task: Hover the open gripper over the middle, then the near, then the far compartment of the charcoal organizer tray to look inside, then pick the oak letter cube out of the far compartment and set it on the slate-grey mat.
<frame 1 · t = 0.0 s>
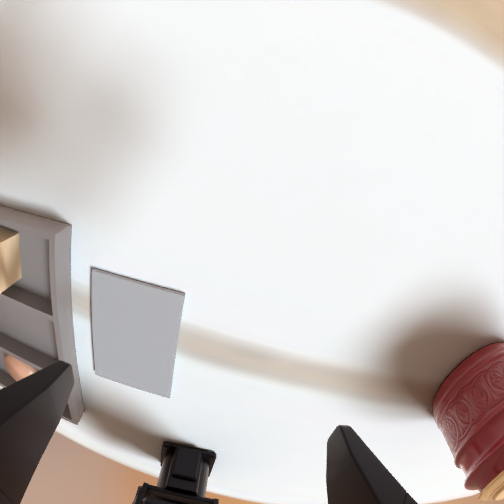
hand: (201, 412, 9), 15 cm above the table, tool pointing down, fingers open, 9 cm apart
letter cube: (4, 250, 23), resting on organizer tray
peach egg shape: (24, 367, 28), resting on organizer tray
canister: (474, 382, 28), on the table
organizer tray: (15, 313, 26), on the table
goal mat: (133, 339, 26), on the table
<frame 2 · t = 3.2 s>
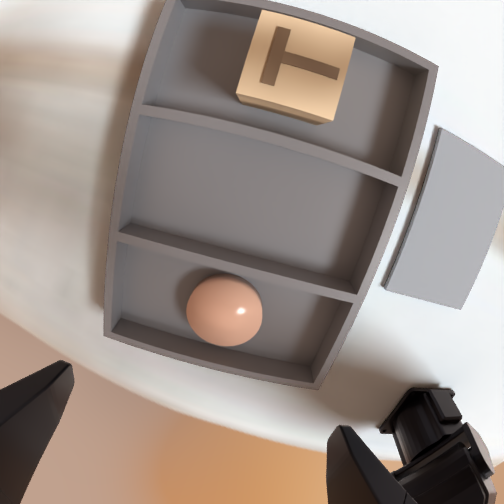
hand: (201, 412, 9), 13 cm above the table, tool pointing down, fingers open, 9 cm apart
letter cube: (289, 79, 16), resting on organizer tray
peach egg shape: (225, 306, 21), resting on organizer tray
organizer tray: (255, 198, 19), on the table
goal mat: (455, 226, 19), on the table
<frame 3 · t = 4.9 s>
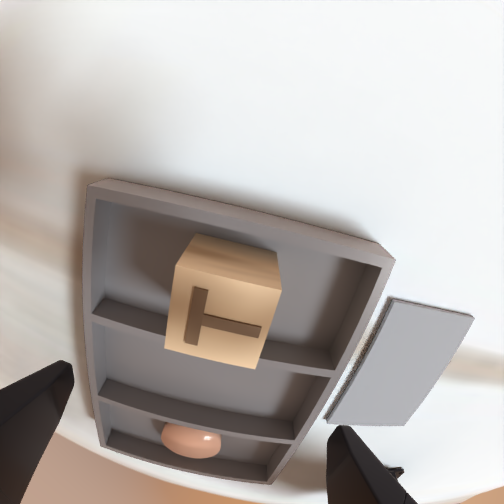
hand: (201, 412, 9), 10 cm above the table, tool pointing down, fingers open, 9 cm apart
letter cube: (227, 279, 18), resting on organizer tray
peach egg shape: (192, 433, 23), resting on organizer tray
organizer tray: (206, 369, 21), on the table
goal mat: (400, 373, 21), on the table
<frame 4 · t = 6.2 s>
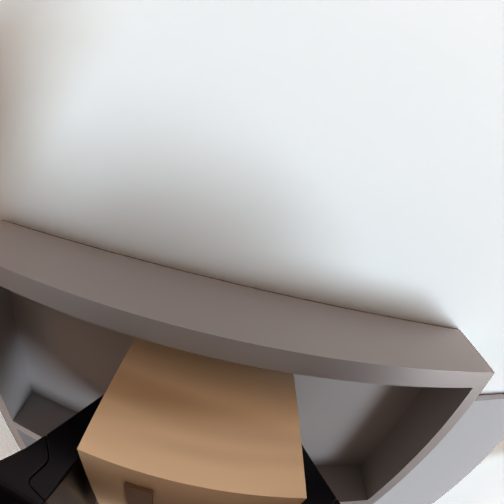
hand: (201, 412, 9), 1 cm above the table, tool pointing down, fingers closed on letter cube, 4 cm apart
letter cube: (204, 396, 9), resting on organizer tray, touching gripper
organizer tray: (185, 478, 12), on the table
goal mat: (442, 464, 12), on the table
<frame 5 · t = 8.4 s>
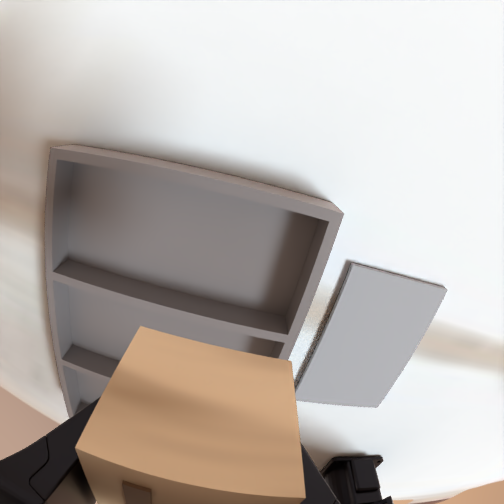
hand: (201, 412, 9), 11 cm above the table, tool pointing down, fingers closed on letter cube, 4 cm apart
letter cube: (203, 396, 9), point 10 cm above the table, touching gripper
organizer tray: (164, 334, 21), on the table
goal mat: (368, 347, 21), on the table
when the fingers open (3 cm above the table, at t = 10.8 s): letter cube drops 2 cm, resting on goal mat.
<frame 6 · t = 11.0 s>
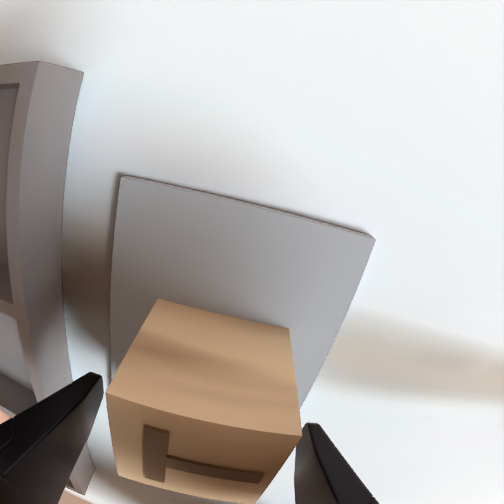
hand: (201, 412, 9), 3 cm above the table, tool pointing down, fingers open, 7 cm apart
letter cube: (211, 364, 11), resting on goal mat
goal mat: (212, 357, 11), on the table
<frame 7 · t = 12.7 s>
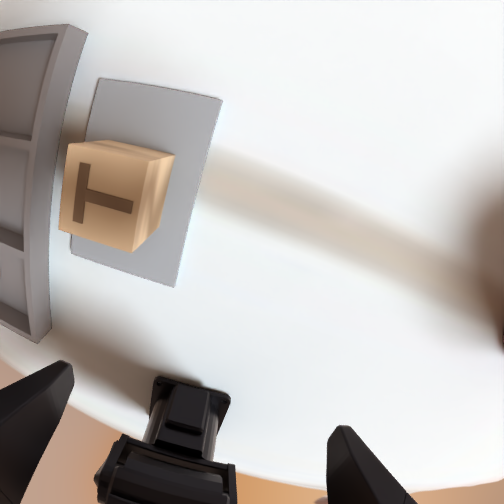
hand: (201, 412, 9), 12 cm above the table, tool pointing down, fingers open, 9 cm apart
letter cube: (132, 182, 18), resting on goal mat
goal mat: (134, 182, 18), on the table
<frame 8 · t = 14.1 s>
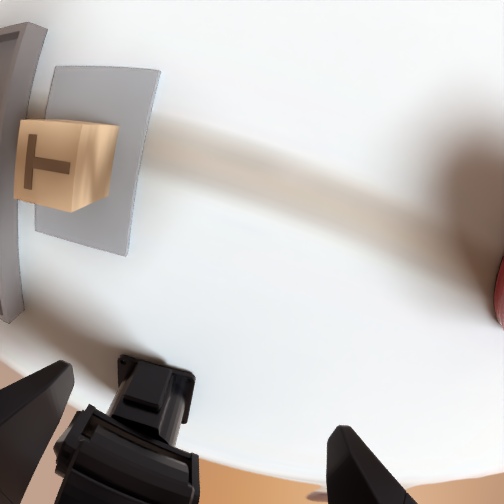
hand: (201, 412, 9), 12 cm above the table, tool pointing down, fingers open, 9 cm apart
letter cube: (84, 156, 17), resting on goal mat
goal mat: (86, 156, 18), on the table
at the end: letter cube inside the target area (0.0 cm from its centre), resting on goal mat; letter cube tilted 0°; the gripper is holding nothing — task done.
